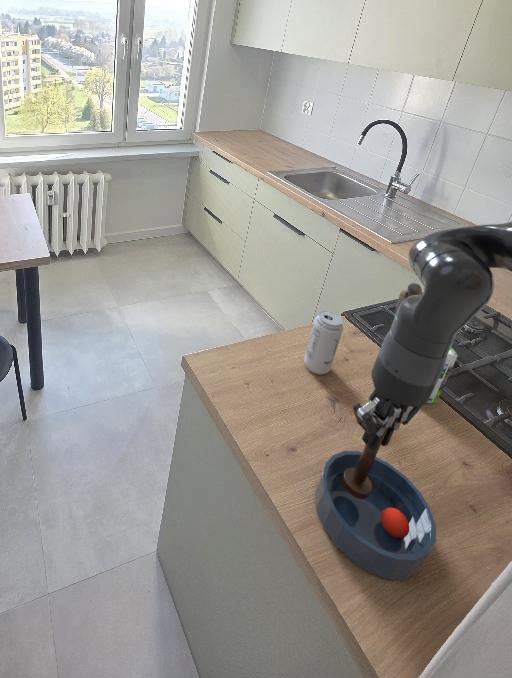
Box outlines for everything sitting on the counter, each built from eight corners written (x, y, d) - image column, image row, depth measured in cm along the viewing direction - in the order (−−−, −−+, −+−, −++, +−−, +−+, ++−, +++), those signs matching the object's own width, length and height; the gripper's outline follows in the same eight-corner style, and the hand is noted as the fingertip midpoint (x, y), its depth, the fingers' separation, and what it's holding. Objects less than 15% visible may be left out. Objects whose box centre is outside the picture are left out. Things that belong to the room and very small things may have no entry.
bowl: (364, 460, 80) (372, 440, 78) (447, 558, 66) (461, 536, 64) (294, 487, 75) (301, 466, 73) (369, 600, 61) (381, 578, 59)
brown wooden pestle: (355, 469, 75) (381, 406, 68) (375, 494, 71) (405, 429, 65) (336, 477, 74) (361, 413, 67) (355, 503, 70) (384, 437, 63)
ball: (389, 513, 72) (396, 498, 70) (410, 538, 68) (418, 524, 67) (372, 521, 70) (378, 506, 69) (392, 547, 67) (400, 533, 65)
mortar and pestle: (420, 362, 104) (448, 298, 96) (381, 346, 109) (405, 283, 101) (424, 337, 113) (450, 275, 105) (388, 322, 117) (410, 263, 109)
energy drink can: (327, 380, 98) (343, 331, 92) (300, 369, 101) (314, 320, 95) (331, 364, 103) (346, 315, 96) (305, 353, 105) (319, 306, 99)
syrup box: (410, 402, 93) (432, 353, 87) (395, 381, 99) (415, 333, 93) (436, 404, 93) (460, 355, 87) (420, 382, 98) (441, 335, 93)
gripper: (395, 396, 55) (360, 478, 62) (467, 372, 60) (426, 452, 67) (351, 354, 62) (324, 433, 69) (418, 336, 66) (386, 412, 73)
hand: (374, 442), depth 68 cm, fingers closed on brown wooden pestle, 2 cm apart
